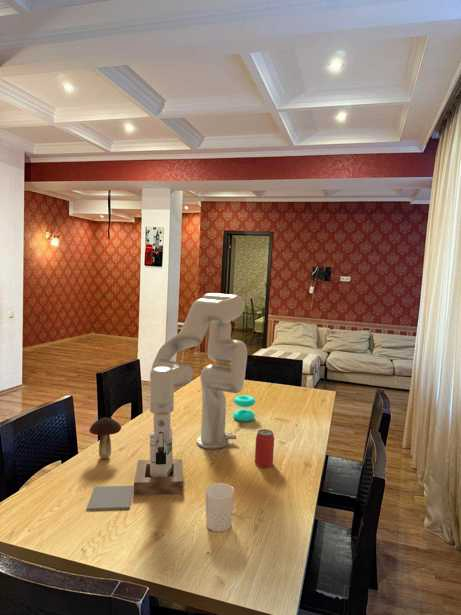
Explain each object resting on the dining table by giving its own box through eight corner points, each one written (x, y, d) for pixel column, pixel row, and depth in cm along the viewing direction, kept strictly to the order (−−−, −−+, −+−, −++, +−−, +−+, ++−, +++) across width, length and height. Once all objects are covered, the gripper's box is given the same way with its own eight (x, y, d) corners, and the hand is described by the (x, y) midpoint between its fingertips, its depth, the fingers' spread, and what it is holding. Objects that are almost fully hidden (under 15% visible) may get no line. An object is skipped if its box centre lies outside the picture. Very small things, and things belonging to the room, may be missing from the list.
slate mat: (133, 487, 136) (133, 485, 136) (129, 508, 124) (129, 507, 124) (94, 488, 134) (94, 486, 134) (86, 510, 122) (86, 508, 122)
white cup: (204, 516, 122) (205, 482, 121) (231, 516, 123) (233, 482, 122) (204, 533, 114) (206, 498, 113) (234, 533, 115) (235, 497, 114)
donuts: (233, 400, 195) (235, 393, 205) (232, 421, 196) (234, 413, 206) (254, 401, 194) (255, 395, 204) (253, 423, 195) (254, 415, 205)
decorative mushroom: (95, 450, 160) (95, 411, 159) (124, 452, 160) (125, 413, 159) (84, 464, 150) (84, 422, 148) (115, 466, 149) (116, 424, 148)
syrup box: (166, 478, 137) (167, 435, 135) (149, 476, 138) (149, 433, 136) (172, 470, 142) (173, 428, 141) (155, 467, 144) (156, 426, 142)
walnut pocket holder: (182, 470, 148) (182, 459, 148) (182, 493, 133) (183, 481, 133) (137, 471, 146) (138, 460, 146) (133, 495, 131) (133, 482, 131)
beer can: (274, 461, 158) (276, 430, 156) (270, 469, 151) (272, 437, 150) (257, 458, 160) (258, 427, 158) (252, 466, 153) (254, 433, 152)
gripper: (173, 415, 129) (172, 471, 132) (173, 396, 146) (173, 446, 149) (148, 416, 128) (147, 472, 131) (151, 396, 145) (151, 446, 148)
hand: (161, 457), depth 140 cm, fingers closed on syrup box, 7 cm apart
